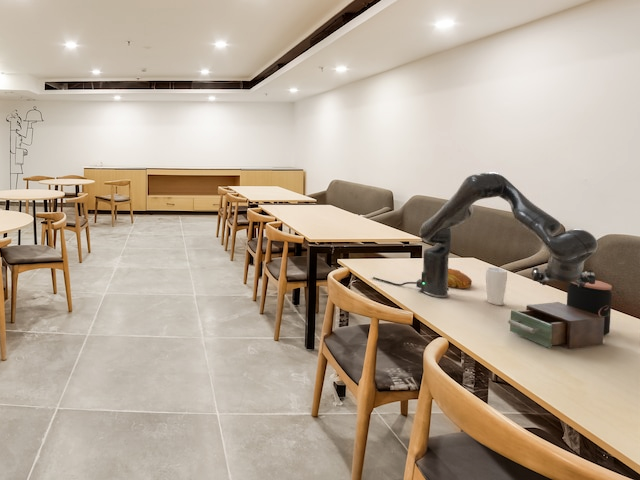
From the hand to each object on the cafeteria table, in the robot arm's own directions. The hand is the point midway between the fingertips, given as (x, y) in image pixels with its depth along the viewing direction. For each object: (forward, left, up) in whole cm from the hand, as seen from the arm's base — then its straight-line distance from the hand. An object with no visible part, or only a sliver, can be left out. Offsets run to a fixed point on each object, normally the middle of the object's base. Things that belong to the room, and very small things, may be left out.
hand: (560, 283), depth 125 cm
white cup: (-19, +27, -21) cm, 39 cm away
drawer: (-4, -3, -20) cm, 21 cm away
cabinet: (+1, +7, -21) cm, 22 cm away
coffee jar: (+7, +23, -21) cm, 32 cm away
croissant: (-36, +41, -21) cm, 58 cm away
